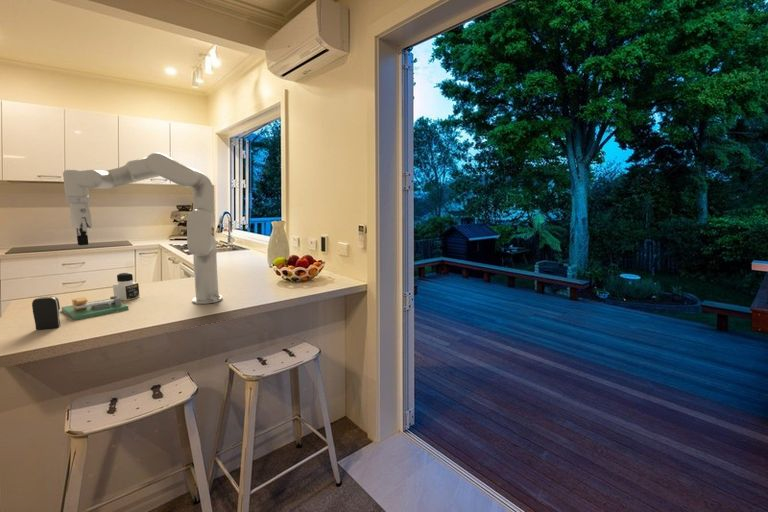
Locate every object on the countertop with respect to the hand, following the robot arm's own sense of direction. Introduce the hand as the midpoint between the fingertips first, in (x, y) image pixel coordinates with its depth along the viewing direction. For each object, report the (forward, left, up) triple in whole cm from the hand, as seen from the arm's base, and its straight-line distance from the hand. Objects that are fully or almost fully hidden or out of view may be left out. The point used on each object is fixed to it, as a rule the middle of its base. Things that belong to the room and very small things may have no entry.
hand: (83, 244), depth 156 cm
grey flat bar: (-10, 0, -24) cm, 26 cm away
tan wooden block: (-9, +5, -25) cm, 27 cm away
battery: (-19, +17, -27) cm, 37 cm away
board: (-6, 0, -27) cm, 28 cm away
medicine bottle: (+4, -15, -27) cm, 31 cm away
